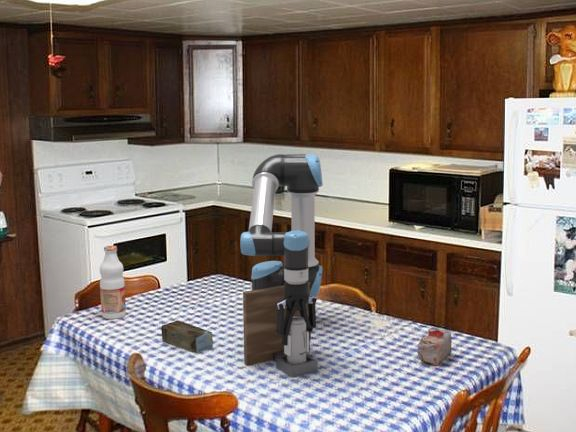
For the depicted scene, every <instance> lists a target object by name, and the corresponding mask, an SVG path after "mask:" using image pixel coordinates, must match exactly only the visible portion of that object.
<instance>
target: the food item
mask: <svg viewBox="0 0 576 432" xmlns="http://www.w3.org/2000/svg"><path fill="white" fill-rule="evenodd" d="M427 333H428V334H427V336H426V337H425V336H423V337H421V338H420V340H419V343H418V344H417V359H418V360H419V361H421V362H424V363H425V364H427V365H428V364H429V365H431V366H439V364H441V363H442V361H444V360H445V359H446V358H447V357H448V356H449V355H450V354H451V353H452V348H453V347H452V333H450V331H448V330H444V329H439V328H438V329H434V330H431V329H427Z"/></svg>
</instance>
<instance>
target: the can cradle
mask: <svg viewBox="0 0 576 432" xmlns="http://www.w3.org/2000/svg"><path fill="white" fill-rule="evenodd" d="M272 361H274V362H275V368H276V369H278V370H279V371H281V372H283V373H284V374H285V375H287V376H288V377H290V378H295V377H299V376H304V375H307V374H312V373H316V372H318V370H319V367H318V362H319V361H318V360H317V359H316V358H314V357H312V356H310V355H309V354H307V353H306V362H304V363H299V364H295V365H292V364H290V363H289V362H287V355H286V354H285V353H284V350H283V351H278V352H273V360H272Z"/></svg>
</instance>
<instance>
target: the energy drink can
mask: <svg viewBox="0 0 576 432" xmlns="http://www.w3.org/2000/svg"><path fill="white" fill-rule="evenodd" d="M289 335H291V356H288V355H287V362H289V363H290V364H292V365H295V364H299V363H304V362H306V354H307V352H306V322H305V320H304V318H303V317H300V316H293V319H292V322H291V326H290V330H289Z"/></svg>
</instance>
